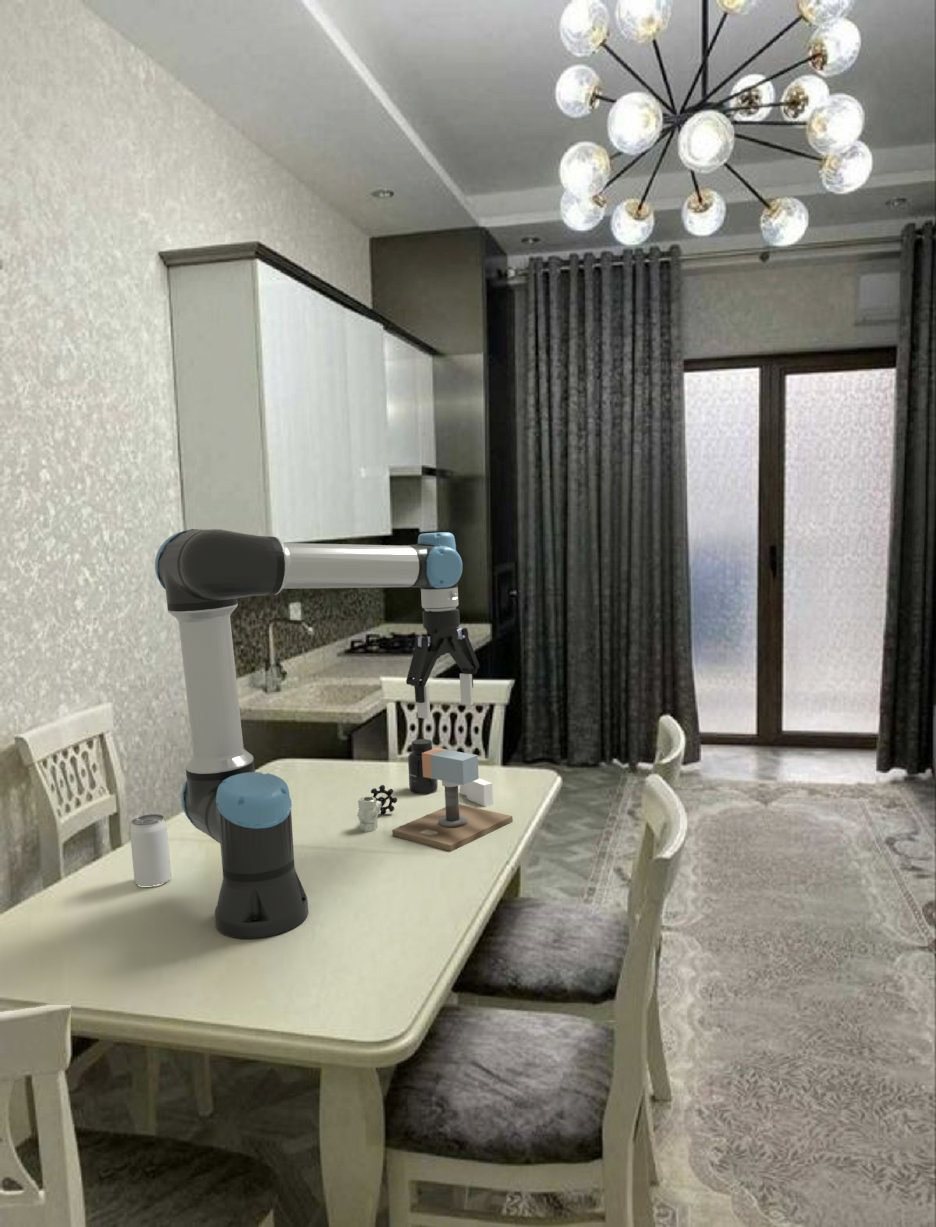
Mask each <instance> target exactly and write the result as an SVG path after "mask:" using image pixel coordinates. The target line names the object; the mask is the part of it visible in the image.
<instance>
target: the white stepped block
mask: <svg viewBox="0 0 936 1227" xmlns="http://www.w3.org/2000/svg"><path fill="white" fill-rule="evenodd" d="M493 790H494V789H493V783H492V782H490V781H487V780H485V779H483V778H480V777H479V779H477V780H475V781H472V782H470V783H467V784H465V785H462V784H460V785H459V792H460V794H461V795H463V796H465V797H466V799H467V800H469V801H471V802H473V803H475V802H476V803H475V804H478V805H481V806H483V807H487V805H488V806H491V805H494V795H493V794H494V793H493V792H494V791H493Z"/></svg>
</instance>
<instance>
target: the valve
mask: <svg viewBox="0 0 936 1227" xmlns="http://www.w3.org/2000/svg"><path fill="white" fill-rule="evenodd" d="M378 789H379V790H378ZM378 789H377V788H374V787H373V788H371V790H370V794H373V795H372V796H363V797H360V798H359V799H358V801H357V803H358V806H357V807H358V812H357V816H358V820H359V831H362V832H366V833H368V832H374V831H376V830H377V829H378V826H379V824H378V817H379V814H380V815H381V816H382V815H384V816H385V815H386V813H387V810H389V813H393V811H394V810H395V806H394V805H393V804H397V802H398V797H393V796H392V794H393V793H394V792H395V791H394V789H393V788H389V789H388V790H386V786H385V785H384V784H380V785H379V787H378ZM379 794H385V795H386V796H384V795H382V796H379V797H377V796H378V795H379ZM387 800H389V801H388V805H386V803H387ZM385 805H386V806H385Z"/></svg>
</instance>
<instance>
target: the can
mask: <svg viewBox="0 0 936 1227" xmlns="http://www.w3.org/2000/svg"><path fill="white" fill-rule="evenodd" d="M164 818H165V817H164V815H163V814H158V813H154V814H145V815H141V816H137V817H135V818H133V819H132V820H131V827H130V830H129V833H130V835H129V836H130V845H131V858H132V867H133V868H132V870H133V880H134V884H135V885H136V884H137V885H140V886H153V885H157V884H162V883H165V882H167V881H168V880H169V879H170V880H171V878H172V869H171V868H172V867H171V860H170V859H171V857H170V845H169V835H168V834H169V833H168V826H167V822H166V821H165V819H164ZM170 880H169V881H170ZM169 881H168V882H169ZM168 882H167V883H168ZM165 884H166V883H165ZM137 885H136V886H137Z"/></svg>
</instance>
